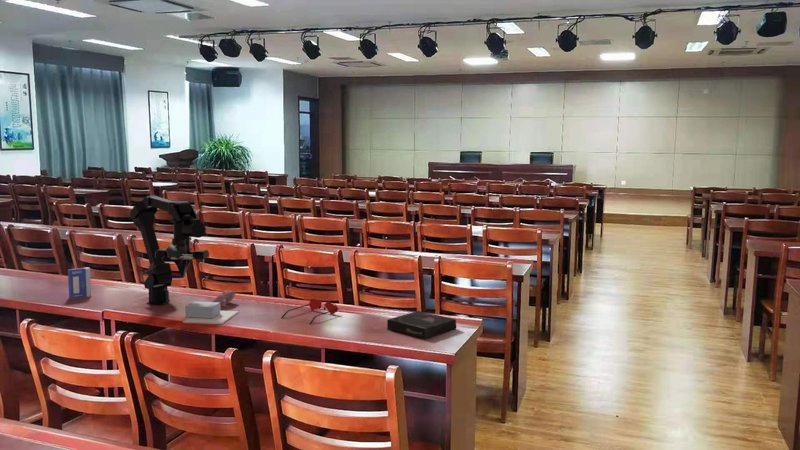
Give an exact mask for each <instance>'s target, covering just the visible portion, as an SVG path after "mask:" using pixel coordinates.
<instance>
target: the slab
mask: <svg viewBox="0 0 800 450" xmlns="http://www.w3.org/2000/svg"><path fill="white" fill-rule="evenodd" d="M184 308H185V309H184V311H185V312H184V313H185V314H184V315H185V318H189V317H194V318H214V317H215V316H217V315H218V314H220V311H221V305H220V302H212V301H192V302H190V303H188V304H187V305H185V307H184Z"/></svg>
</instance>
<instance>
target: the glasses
mask: <svg viewBox="0 0 800 450" xmlns="http://www.w3.org/2000/svg"><path fill="white" fill-rule="evenodd" d="M322 302H325V303H324V304H323V305H324V307H323V310H324V311H326V310H327V311H326V312H323V313H320V314H317V315H315V316H314V317H313V318H312V319H311V321H310V323H309V325H312V323H313V322H314V320H315V319H316V318H317V317H319V316H322V315H326V314H330V315H334V314H335V313H337V312H339V311H338V310H340V308H339V307H338V306H337V304H336V303H335V302H332V301H330V300H328V301H327V300H321V299H315V298H311V299H310V300H309V303H307V304H305V305H301V306H298V307H294V308H291V309H288V310H286V311H285V313H284V314H283V315H282V316H281V317H280V319H283V318H285V316H286V314H287V313H289V312H290V311H293V310H297V309H301V308H304V307H307V306H309V308H310V310H311V311H315V310H318V309H319V310H320V309H321V308H322Z"/></svg>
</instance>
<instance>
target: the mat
mask: <svg viewBox="0 0 800 450" xmlns="http://www.w3.org/2000/svg"><path fill="white" fill-rule="evenodd" d="M238 313H239V311H238V310H235V311H234V310H220V314H218V315H217V316H215V317H214V318H194V317H187V318H186V319H185V320H183V321H182V323H183V324H201V325H202V324H203V325H204V324H205V325H223V324H224V323H226V322H227V321H229V320H230V319H232V318H234V316H236V315H237V314H238Z"/></svg>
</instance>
